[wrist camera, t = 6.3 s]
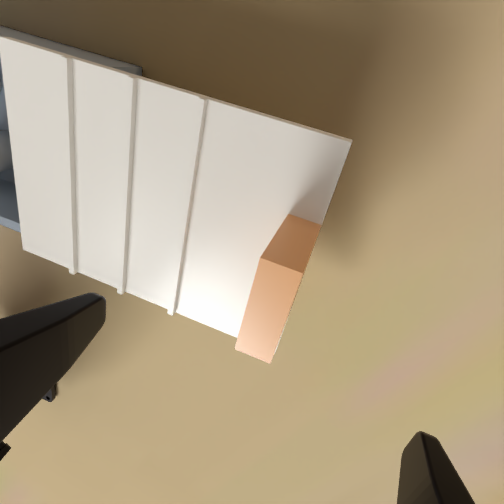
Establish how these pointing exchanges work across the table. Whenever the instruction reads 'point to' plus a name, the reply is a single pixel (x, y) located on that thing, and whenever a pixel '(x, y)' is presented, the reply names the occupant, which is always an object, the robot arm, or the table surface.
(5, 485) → the table surface
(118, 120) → the lid
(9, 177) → the tub
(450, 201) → the table surface
